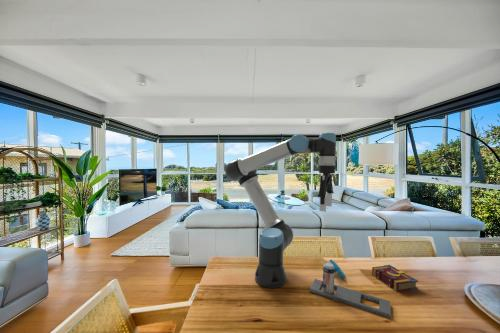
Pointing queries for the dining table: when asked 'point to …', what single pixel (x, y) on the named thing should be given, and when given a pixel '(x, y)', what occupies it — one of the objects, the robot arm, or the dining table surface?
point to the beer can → (328, 277)
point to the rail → (353, 298)
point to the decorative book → (394, 278)
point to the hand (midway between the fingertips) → (325, 208)
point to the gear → (337, 269)
